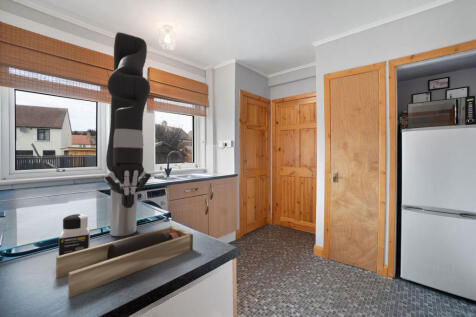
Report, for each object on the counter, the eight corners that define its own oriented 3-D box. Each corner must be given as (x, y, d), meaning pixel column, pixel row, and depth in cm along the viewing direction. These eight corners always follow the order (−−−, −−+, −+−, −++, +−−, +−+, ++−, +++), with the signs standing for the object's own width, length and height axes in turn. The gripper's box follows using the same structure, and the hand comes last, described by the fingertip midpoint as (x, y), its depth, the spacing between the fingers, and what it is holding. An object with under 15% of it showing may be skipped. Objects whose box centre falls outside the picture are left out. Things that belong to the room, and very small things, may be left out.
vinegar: (109, 238, 61) (172, 225, 76) (104, 259, 62) (167, 242, 78) (119, 254, 57) (183, 236, 72) (113, 276, 58) (177, 254, 74)
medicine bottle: (58, 262, 63) (58, 220, 62) (62, 252, 69) (62, 214, 68) (88, 256, 66) (89, 217, 66) (89, 247, 72) (90, 211, 72)
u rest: (56, 276, 56) (56, 256, 55) (171, 239, 81) (171, 226, 81) (69, 297, 48) (70, 274, 48) (192, 249, 73) (193, 234, 73)
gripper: (144, 147, 70) (143, 202, 70) (97, 145, 60) (96, 209, 60) (157, 147, 65) (156, 206, 65) (108, 145, 55) (107, 214, 55)
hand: (127, 207), depth 63 cm, fingers closed
